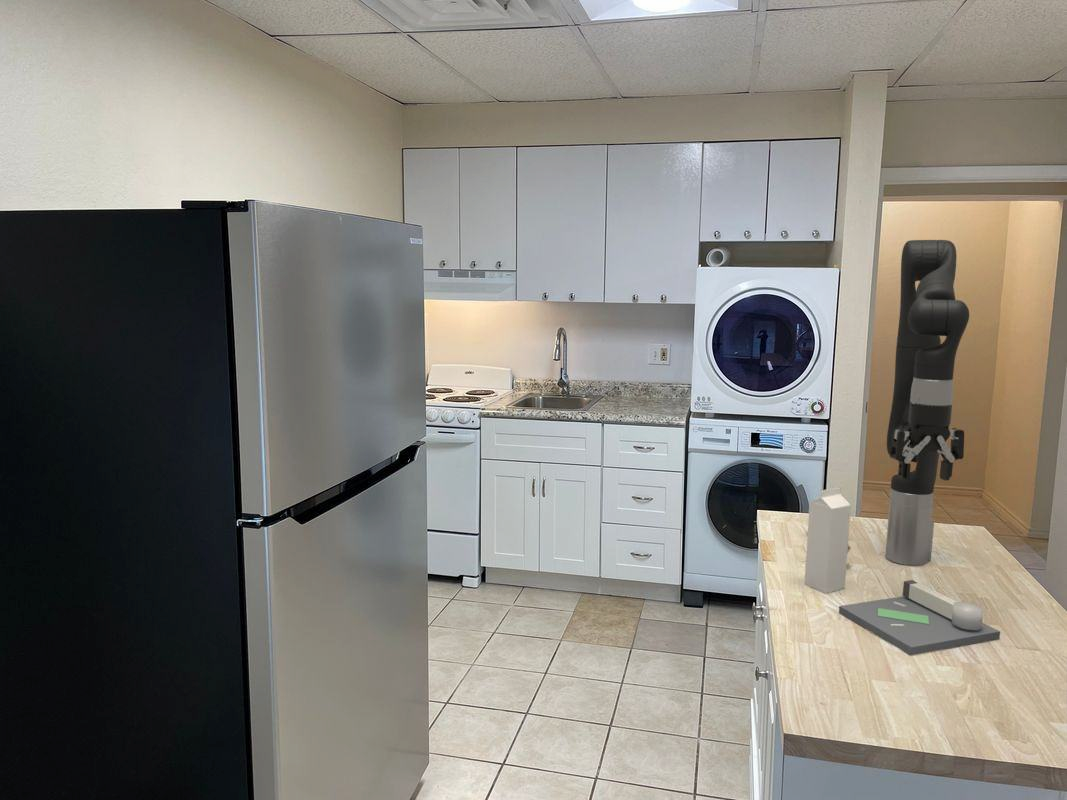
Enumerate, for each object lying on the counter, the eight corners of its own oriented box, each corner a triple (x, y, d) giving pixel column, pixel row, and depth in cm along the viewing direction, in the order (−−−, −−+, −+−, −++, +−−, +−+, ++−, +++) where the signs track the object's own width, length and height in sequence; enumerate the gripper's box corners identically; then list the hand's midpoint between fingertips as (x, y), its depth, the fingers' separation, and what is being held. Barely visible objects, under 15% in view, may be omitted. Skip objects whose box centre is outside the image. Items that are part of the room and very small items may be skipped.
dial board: (921, 600, 169) (921, 592, 168) (999, 638, 151) (1000, 630, 151) (838, 613, 162) (839, 605, 162) (910, 655, 144) (911, 646, 144)
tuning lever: (987, 628, 151) (989, 610, 150) (967, 631, 149) (969, 613, 149) (916, 593, 167) (917, 577, 167) (897, 596, 166) (898, 579, 165)
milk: (844, 588, 174) (852, 490, 171) (825, 594, 172) (833, 494, 168) (822, 579, 180) (829, 484, 176) (803, 584, 177) (810, 487, 173)
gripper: (953, 397, 164) (946, 474, 166) (886, 398, 162) (881, 476, 165) (976, 403, 156) (969, 484, 159) (907, 404, 155) (901, 485, 157)
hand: (924, 480), depth 162 cm, fingers open, 8 cm apart
